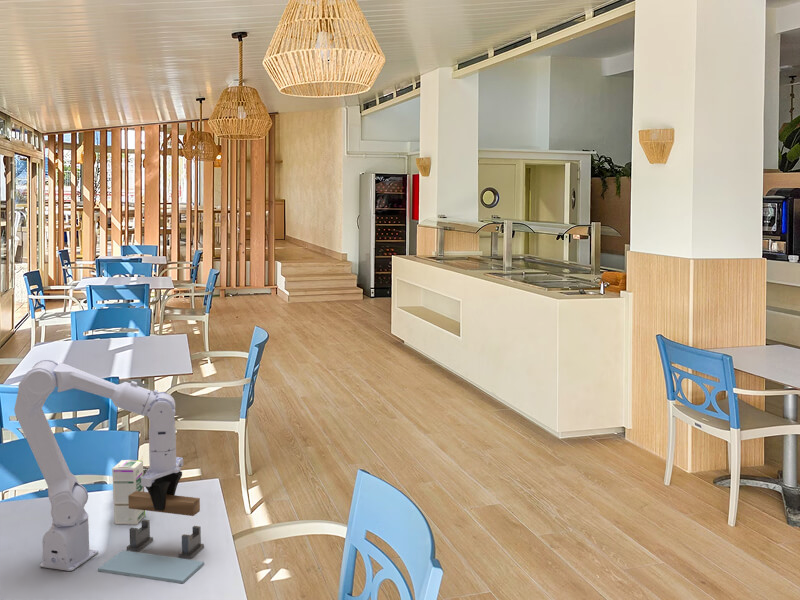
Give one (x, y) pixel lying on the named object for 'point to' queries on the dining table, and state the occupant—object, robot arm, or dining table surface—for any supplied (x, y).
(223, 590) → the dining table surface
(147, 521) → the bracket
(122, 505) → the syrup box
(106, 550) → the dining table surface
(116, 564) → the mat
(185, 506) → the rail
